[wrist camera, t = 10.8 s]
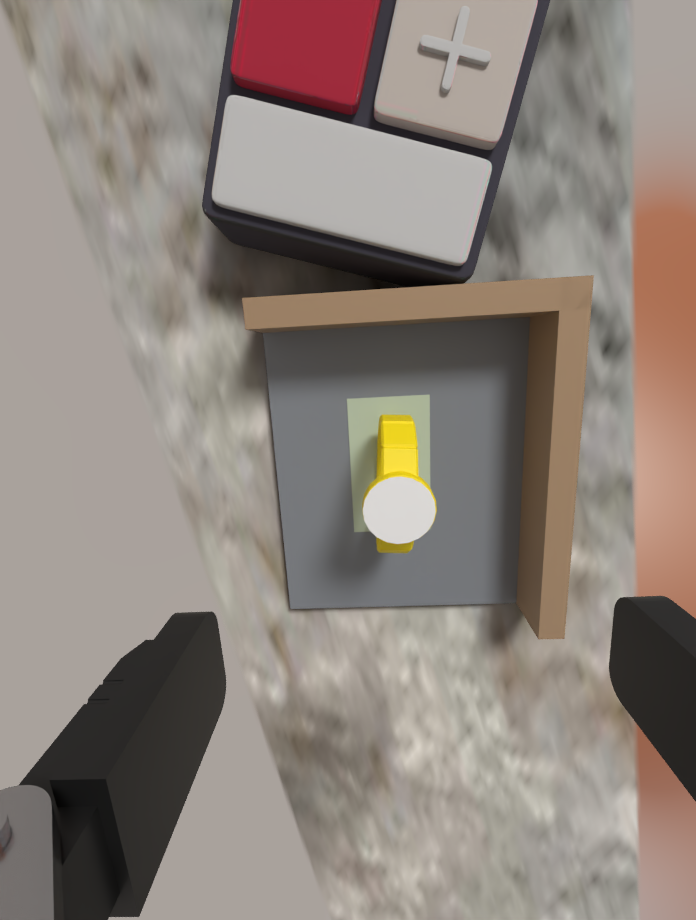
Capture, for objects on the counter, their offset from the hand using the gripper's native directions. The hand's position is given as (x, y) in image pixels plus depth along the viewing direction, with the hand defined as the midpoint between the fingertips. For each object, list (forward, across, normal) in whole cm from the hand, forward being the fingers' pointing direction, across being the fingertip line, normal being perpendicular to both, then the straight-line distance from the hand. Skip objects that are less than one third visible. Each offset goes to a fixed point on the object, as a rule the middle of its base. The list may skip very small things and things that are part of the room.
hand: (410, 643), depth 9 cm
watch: (+13, 0, 0) cm, 13 cm away
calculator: (+14, -1, -17) cm, 22 cm away
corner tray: (+14, -1, 0) cm, 14 cm away
